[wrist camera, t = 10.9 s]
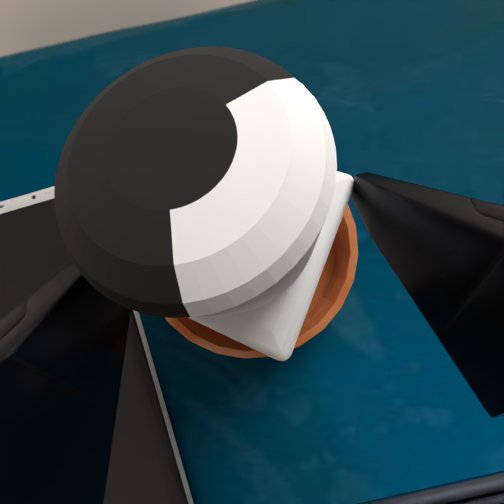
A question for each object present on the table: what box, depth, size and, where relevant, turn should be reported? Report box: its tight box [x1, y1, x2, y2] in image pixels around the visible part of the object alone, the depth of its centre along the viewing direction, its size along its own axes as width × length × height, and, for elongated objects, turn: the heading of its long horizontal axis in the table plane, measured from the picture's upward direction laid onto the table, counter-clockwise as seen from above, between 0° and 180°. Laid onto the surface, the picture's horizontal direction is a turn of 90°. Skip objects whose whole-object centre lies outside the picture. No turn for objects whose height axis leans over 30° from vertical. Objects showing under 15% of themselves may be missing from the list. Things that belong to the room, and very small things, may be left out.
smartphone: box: [0, 186, 194, 504], centre depth 17 cm, size 13×27×2 cm, turn 16°
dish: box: [165, 204, 358, 358], centre depth 16 cm, size 13×13×3 cm
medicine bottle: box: [54, 47, 354, 361], centre depth 10 cm, size 7×7×12 cm
